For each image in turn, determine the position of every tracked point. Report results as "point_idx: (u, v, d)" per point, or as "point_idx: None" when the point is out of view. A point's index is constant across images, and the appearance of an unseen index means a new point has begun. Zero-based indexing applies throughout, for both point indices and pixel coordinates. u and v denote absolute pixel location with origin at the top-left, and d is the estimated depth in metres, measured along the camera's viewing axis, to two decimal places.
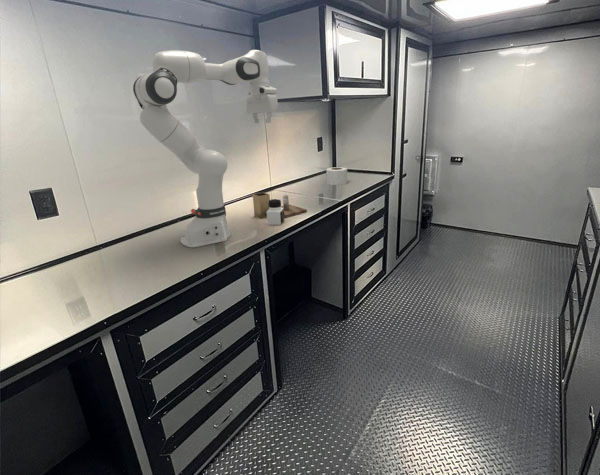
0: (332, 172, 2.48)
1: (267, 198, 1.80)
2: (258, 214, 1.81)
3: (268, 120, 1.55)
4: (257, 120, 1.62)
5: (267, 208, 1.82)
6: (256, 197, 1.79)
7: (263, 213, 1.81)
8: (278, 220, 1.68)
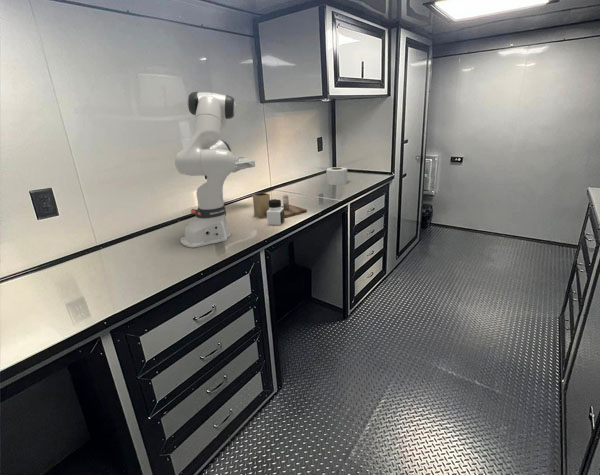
0: (332, 172, 2.48)
1: (267, 198, 1.80)
2: (258, 214, 1.81)
3: None
4: None
5: (267, 208, 1.82)
6: (256, 197, 1.79)
7: (263, 213, 1.81)
8: (278, 220, 1.68)
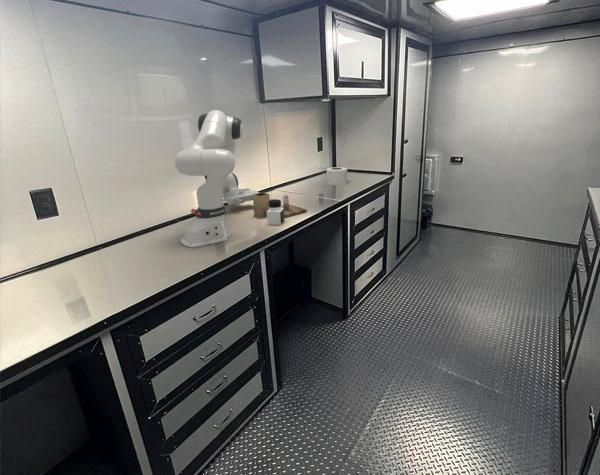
0: (332, 172, 2.48)
1: (267, 198, 1.80)
2: (258, 214, 1.81)
3: None
4: None
5: (267, 208, 1.82)
6: (256, 197, 1.79)
7: (263, 213, 1.81)
8: (278, 220, 1.68)
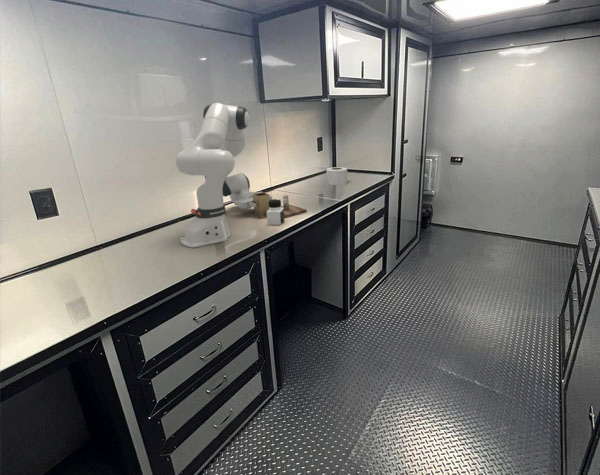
0: (332, 172, 2.48)
1: (267, 198, 1.80)
2: (258, 214, 1.81)
3: None
4: None
5: (267, 208, 1.82)
6: (256, 197, 1.79)
7: (263, 213, 1.81)
8: (278, 220, 1.68)
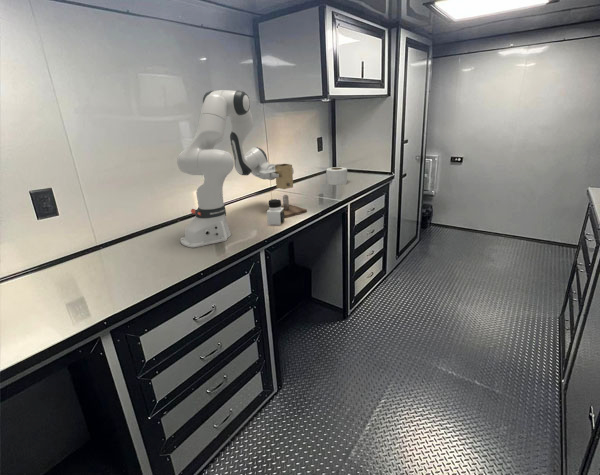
0: (332, 172, 2.48)
1: (289, 169, 1.80)
2: (281, 185, 1.81)
3: None
4: None
5: (289, 179, 1.81)
6: (279, 167, 1.79)
7: (286, 184, 1.81)
8: (278, 220, 1.68)
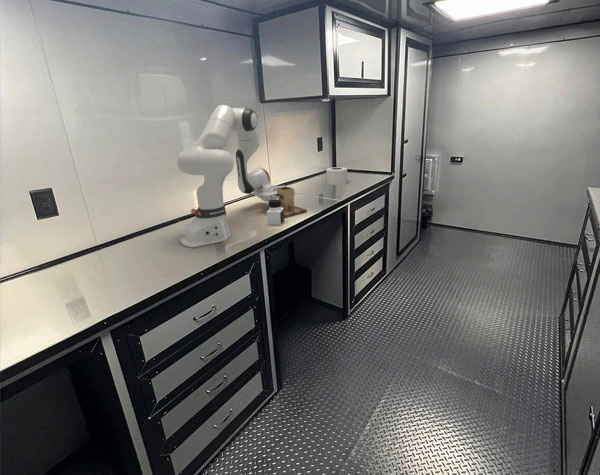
0: (332, 172, 2.48)
1: (290, 192, 1.84)
2: None
3: None
4: None
5: (291, 202, 1.86)
6: (280, 191, 1.83)
7: (287, 207, 1.85)
8: (278, 220, 1.68)
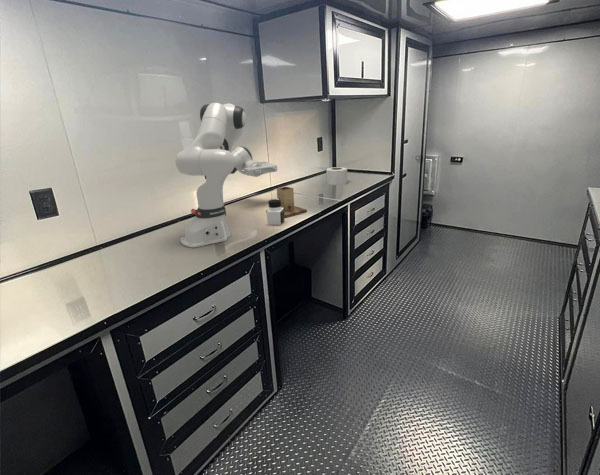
0: (332, 172, 2.48)
1: (290, 192, 1.84)
2: None
3: None
4: None
5: (291, 202, 1.86)
6: (280, 191, 1.83)
7: (287, 207, 1.85)
8: (278, 220, 1.68)
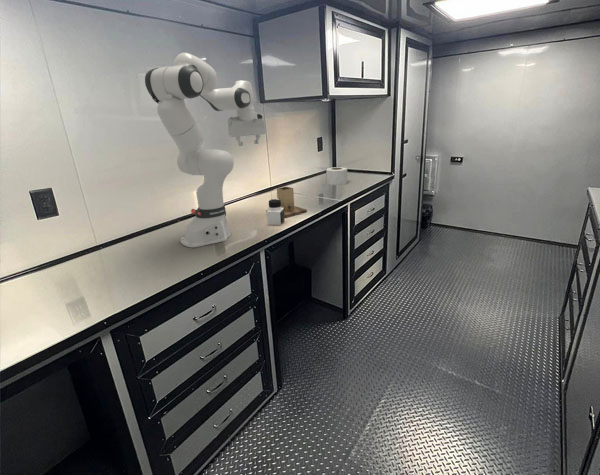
0: (332, 172, 2.48)
1: (290, 192, 1.84)
2: None
3: None
4: None
5: (291, 202, 1.86)
6: (280, 191, 1.83)
7: (287, 207, 1.85)
8: (278, 220, 1.68)
